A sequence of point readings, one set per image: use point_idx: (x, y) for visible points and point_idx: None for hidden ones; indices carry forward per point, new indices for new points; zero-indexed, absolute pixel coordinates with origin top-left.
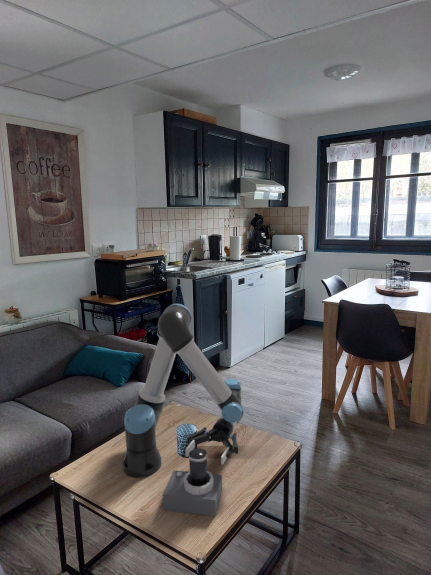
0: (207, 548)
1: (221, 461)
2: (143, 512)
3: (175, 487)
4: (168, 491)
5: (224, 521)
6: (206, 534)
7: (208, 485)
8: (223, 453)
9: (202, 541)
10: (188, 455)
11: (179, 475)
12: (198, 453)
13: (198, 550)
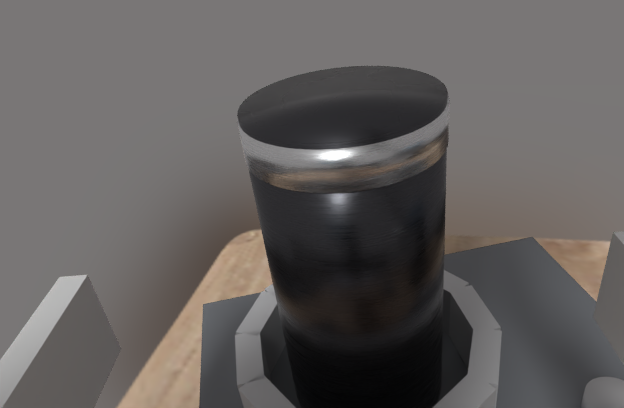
0: (227, 256)
1: (102, 321)
2: (600, 280)
3: (511, 297)
4: (522, 261)
5: (175, 376)
6: (247, 294)
7: (255, 303)
8: (39, 341)
9: (254, 268)
10: (607, 336)
11: (590, 381)
12: (333, 99)
13: (257, 242)
